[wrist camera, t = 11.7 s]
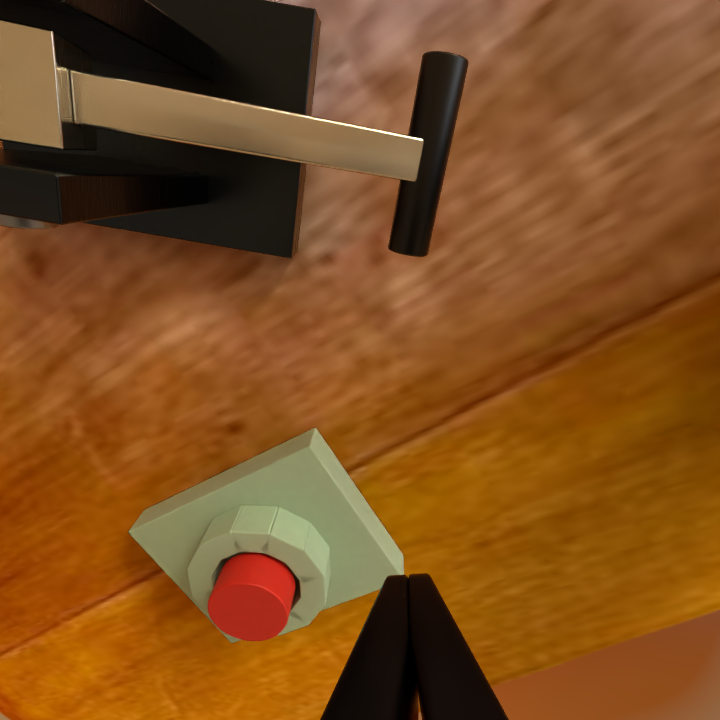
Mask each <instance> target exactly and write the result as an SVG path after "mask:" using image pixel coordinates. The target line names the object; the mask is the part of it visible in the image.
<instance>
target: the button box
mask: <svg viewBox="0 0 720 720" xmlns="http://www.w3.org/2000/svg"><path fill="white" fill-rule="evenodd" d="M128 533H129V534H130V535H131V536H132V537H133V538H134V539H135V540H136V541H137V543H138V544H139V545H140V546H141V547H142V548H143V549H144V550H145V551H146V552H147V553H148V554H149V555H150V556H151V558H152V559H153V560H154V561H155V562H156V563H157V564H158V565H159V566H160V567H161V568H162V569H163V570H164V571H165V573H166V574H167V575H168V576H169V577H170V578H171V579H172V580H173V581H174V582H175V583H176V584H177V585H178V586H179V588H180V589H181V590H182V591H183V592H184V593H185V594H186V595H187V596H188V597H189V598H190V599H191V600H192V601H193V603H194V604H195V605H196V606H197V607H198V608H199V609H200V610H201V611H202V612H203V613H204V614H205V615H206V616H207V618H208V619H209V620H210V621H211V622H212V623H213V621H212V620H211V618H210V616H209V613H208V600H209V597H210V595H211V593H212V590H213V588H214V586H215V583H216V581H217V579H218V576H219V574H220V572H221V569H222V567H223V566H224V564H225V563H226V562H227V561H228V560H229V559H231V558H232V557H234V556H236V555H239V554H242V553H249V552H255V553H263V554H267V555H270V556H272V557H274V558H276V559H278V560H280V561H281V562H283V563H284V564H285V565H286V566H287V567H288V568H289V569H290V571H291V572H292V574H293V576H294V579H295V592H294V596H293V601H292V605H291V609H290V614H289V618H288V622H287V624H286V626H285V628H284V629H283V630H282V631H281V632H280V633H279V634H278V635H282V634H285V633H288V632H291V631H293V630H296V629H299V628H302V627H304V626H307V625H309V624H310V623H311V621H312V620H313V619H314V618H315V616H316V615H317V614H318V613H319V611H322V610H324V609H327V608H330V607H333V606H335V605H338V604H341V603H344V602H346V601H349V600H352V599H354V598H357V597H360V596H363V595H365V594H368V593H371V592H374V591H376V590H379V589H381V587H382V585H383V583H384V581H385V579H386V577H387V576H389V575H404V559H403V554H402V552H401V551H400V549H399V548H398V546H397V545H396V543H395V542H394V541H393V539H392V538H391V536H390V535H389V533H388V532H387V530H386V529H385V527H384V526H383V525H382V523H381V522H380V520H379V519H378V517H377V516H376V514H375V513H374V511H373V510H372V509H371V507H370V506H369V504H368V503H367V501H366V500H365V498H364V497H363V495H362V494H361V493H360V491H359V490H358V488H357V487H356V485H355V484H354V482H353V481H352V479H351V478H350V476H349V475H348V474H347V472H346V471H345V469H344V468H343V466H342V465H341V463H340V462H339V460H338V459H337V458H336V456H335V455H334V453H333V452H332V450H331V449H330V447H329V446H328V444H327V443H326V442H325V440H324V439H323V437H322V436H321V434H320V433H319V431H318V430H317V428H313V429H311V430H309V431H307V432H305V433H302V434H300V435H298V436H296V437H294V438H292V439H290V440H288V441H286V442H284V443H282V444H280V445H278V446H276V447H273V448H271V449H269V450H267V451H265V452H263V453H261V454H259V455H257V456H255V457H253V458H251V459H249V460H247V461H244V462H242V463H240V464H238V465H236V466H234V467H232V468H230V469H228V470H226V471H224V472H222V473H220V474H218V475H216V476H213V477H211V478H209V479H207V480H205V481H203V482H201V483H199V484H197V485H195V486H193V487H191V488H189V489H187V490H184V491H182V492H180V493H178V494H176V495H174V496H172V497H170V498H168V499H166V500H164V501H162V502H160V503H158V504H155V505H153V506H151V507H149V508H147V509H145V510H144V511H143V513H142V514H141V515H140V517H139V518H138V519H137V521H136V522H135V523H134V525H133V526H132V527H131V529H130V530H129V532H128ZM213 624H214V623H213ZM214 625H215V624H214ZM215 626H216V625H215ZM216 627H217V626H216ZM217 628H218V627H217ZM218 629H219V628H218ZM219 630H220V629H219ZM220 631H221V633H222V634H223V635H224V636H225V637H226V638H227V639H228V640H229V641H230V642H231V643H234V642H237V641H239V640H241V639H238V638H235V637H232V636H230V635H228V634H226V633H225V632H223V631H222V630H220Z"/></svg>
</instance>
